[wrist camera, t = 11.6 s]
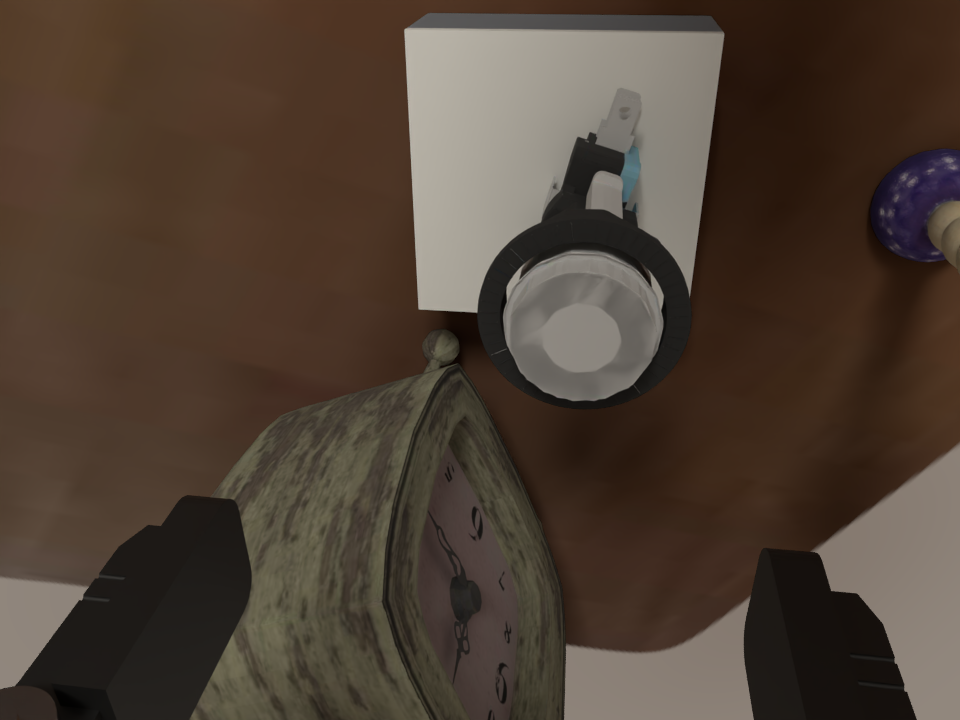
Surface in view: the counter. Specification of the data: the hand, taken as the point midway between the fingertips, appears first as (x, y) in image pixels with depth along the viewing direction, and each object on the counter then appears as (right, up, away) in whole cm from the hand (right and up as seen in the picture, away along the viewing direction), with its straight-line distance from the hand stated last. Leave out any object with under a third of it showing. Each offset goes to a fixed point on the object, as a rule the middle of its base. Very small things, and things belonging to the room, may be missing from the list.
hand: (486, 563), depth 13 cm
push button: (+4, +9, +16) cm, 19 cm away
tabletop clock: (-2, -1, +27) cm, 27 cm away
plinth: (+3, +11, +19) cm, 22 cm away
